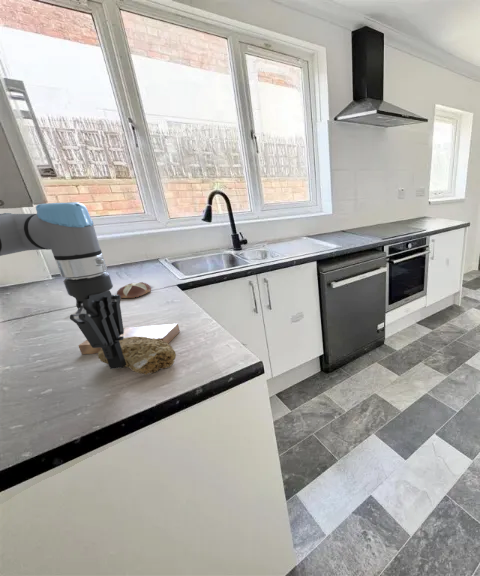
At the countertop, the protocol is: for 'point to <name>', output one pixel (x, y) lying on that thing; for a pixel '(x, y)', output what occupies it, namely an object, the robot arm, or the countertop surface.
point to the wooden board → (139, 335)
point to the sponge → (144, 354)
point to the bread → (134, 290)
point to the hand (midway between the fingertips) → (118, 366)
